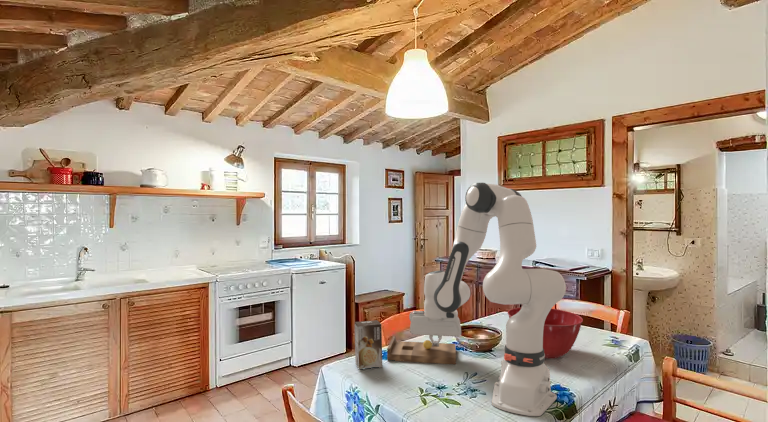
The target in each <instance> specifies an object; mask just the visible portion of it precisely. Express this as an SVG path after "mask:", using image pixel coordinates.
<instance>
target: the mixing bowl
mask: <svg viewBox="0 0 768 422" xmlns="http://www.w3.org/2000/svg"><path fill="white" fill-rule="evenodd" d="M521 308H522V306H521V307H513V308H511V309H509V310H508V311H507V315H508V319H509V318H510V317H511V316H513V315H515V314H517V313H518V312H519V311H520V310H521ZM583 322H584V319H583V318H582V316H580V315H578V314H576V313H573V312H570V311H566V310H562V309H558V308H557V309H556V308H552V309H551V310H550V312H549V313H548V315H547V317H546V320H545V323H544V330H543V349H544V353H545V359H550V360H551V359H559V358H561V357H563V356H566V354H568V353H569V352H570V351H571V349H572V348H573V346H574V344H575V343H576V340H577V339H578V338H577V337H578V335H579V333H580V331H581V327H582V324H583Z"/></svg>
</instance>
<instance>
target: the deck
mask: <svg viewBox="0 0 768 422" xmlns="http://www.w3.org/2000/svg"><path fill="white" fill-rule="evenodd" d="M423 343H424V342H423V341H407V340H406V341H402V340H397V338H396V336H395V335H393V336H392V338H391V340H390V342H389V344H388V347H387V349H386V351H387V353H386V357H387V359H386V360H395V361H394V362H408V363H423V364H424V363H427V364H439V365H440V364H443V365H444V364H445V365H456V363H457V361H456V359H457V354H456V353H457V352H456V351H457V350H456V347H457V346H456V345H457V344H456V343H443V342H442V343H440V342H439V347H435V346H432V347H431V348H430V349H425V348H424V346H423Z"/></svg>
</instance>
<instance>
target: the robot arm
mask: <svg viewBox="0 0 768 422" xmlns="http://www.w3.org/2000/svg"><path fill="white" fill-rule="evenodd" d="M464 198H465V199H464V200H465V204H464V206H463V208H462V210H461V213H460V216H459V220H458V222H457V227H456V231H455V236H454V240H453V245H452V248H451V252H450V254H449V258H448V260H447V265H446V269H445V271H444V270H434V271H430V272H428V273H426V274H425V277H424V283H423V294H424V302H423V307H424V308H423V310H412V311H411V312H410V313H409V318H408V319H409V321H410V326H409V333H410V334H411V335H414V336H417V335H418V336H428V337H429V341H431V343H432V346H435V347H439V343H440V342H441V340H442V338H443V337H459V338H460V337H461V335H462V326H461V320H460V318H459V316H458V315H459V313H458V310H457V309H459V308H460V307H462V306H463V305H464V304H466V302H468V301H469V300H470V299H471V298H470V297H471V293H472V292H471V288H470V286H469V284H468V283H467V282H465V281H463V280H462V278H463V275H464V271H465V268H466V266H467V263H468V262H469V261H470V259H471V258H472V257H473V256H474V255H475V254H476V253H477V252H478V251H479V250H481V248H482V246H483V244H484V242H485V239H486V236H487V232H488V226H489V223H490V221H491V219H493V218H497V221H498V222H497V223H498V233H499V244H500V245H499V249H500V250H499V251H500V252H499V256H498V260H497V262H496V264H495V266H494V267H493V268H492V269H491V270H489V272H488V273H486V275H485V276H484V277H483V281H482V290H483V294H484V296H485V298H486V299H487V300H488V301H489V302H490V303H495V304H500V305H522V306H521V307H522V308H521V307H520V308H521V310H520V311H519V312H518V313H517V314H515V315H513V316H511V317H510V318H509V317H508V319H507V321H506V322H505V323H506V324H505V345H504V349H503V359H502V360H501V362H500V363H501V364H500V365H501V367H500V368H501V371H500V375H498V377H497V380H498V381H496V382H494V384H493V392H492V398H491V405H492V406H493V407H495V408H496V409H498V410H499V409H500V410H502V411H505V412H509V413H512V414H516V415H522V416H529V417H541V416H542V415H543V414H544V413H545V412H546V411H547V409H549V408H550V407H551V405H553V404H554V402H555V401H556V400H557V398H558V396H557V394H556V393H555V392H553V391H551V390H552V389H551V371H550V369H549V367H548V366H547V365H546V364H545V361H546V358H545V353H544V349H543V330H544V323H545V320H546V317H547V315H548V313H549V312H550V310H551V309H553V307H554V306H556V304H557V303H559V302H560V301H562V299H563V298H564V296H565V294H566V291H567V285H566V281H565V279H564V276H562V274H561V273H560V272H559V271H557V270H552V269H546V268H523V260H525V259H527V258H529V257H530V256H532V255H533V254H534V253H535V251H536V249H537V239H536V233H535V232H536V231H535V227H534V221H533V216H532V212H531V209H530V206H529V203H528V201H527V199H526V198H525V197H524V196H522V194H521V193H520V192H518V191H517V190H514V189H513V188H507V187H505V186H501V185H498V184H494V183H486V182H474V183H472V184H471V185H470V186H469V187H468V188H467V190H466V192H465V197H464ZM434 336H437V338H438V339H437V340H434Z"/></svg>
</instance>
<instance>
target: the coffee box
mask: <svg viewBox="0 0 768 422" xmlns="http://www.w3.org/2000/svg"><path fill="white" fill-rule="evenodd" d="M382 328H383V327H382V323H381V322H380V321H378V320H363V321H354V346H355V347H354V350H355V356H354V357H355V361H354V362H355V366H356V365H357V366H356V368H357V367H358V368H359V369H362V368H371V367H379V368H383V342H382V341H383V337H382V335H383V334H382ZM358 368H357V369H358ZM359 369H358V370H359ZM371 369H372V368H371Z"/></svg>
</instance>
